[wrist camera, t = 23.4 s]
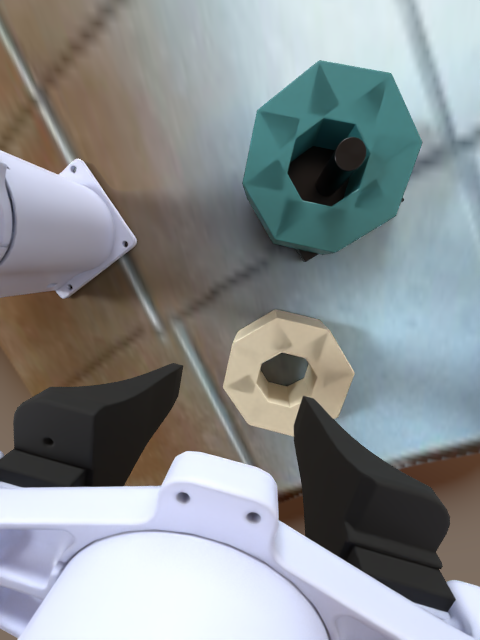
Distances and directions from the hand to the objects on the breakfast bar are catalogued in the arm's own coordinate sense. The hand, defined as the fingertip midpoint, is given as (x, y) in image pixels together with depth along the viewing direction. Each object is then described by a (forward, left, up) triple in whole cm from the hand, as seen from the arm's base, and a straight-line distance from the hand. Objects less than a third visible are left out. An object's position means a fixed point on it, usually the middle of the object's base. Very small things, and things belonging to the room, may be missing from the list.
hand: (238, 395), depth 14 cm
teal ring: (+11, +9, -8) cm, 16 cm away
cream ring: (+2, -3, -9) cm, 9 cm away
